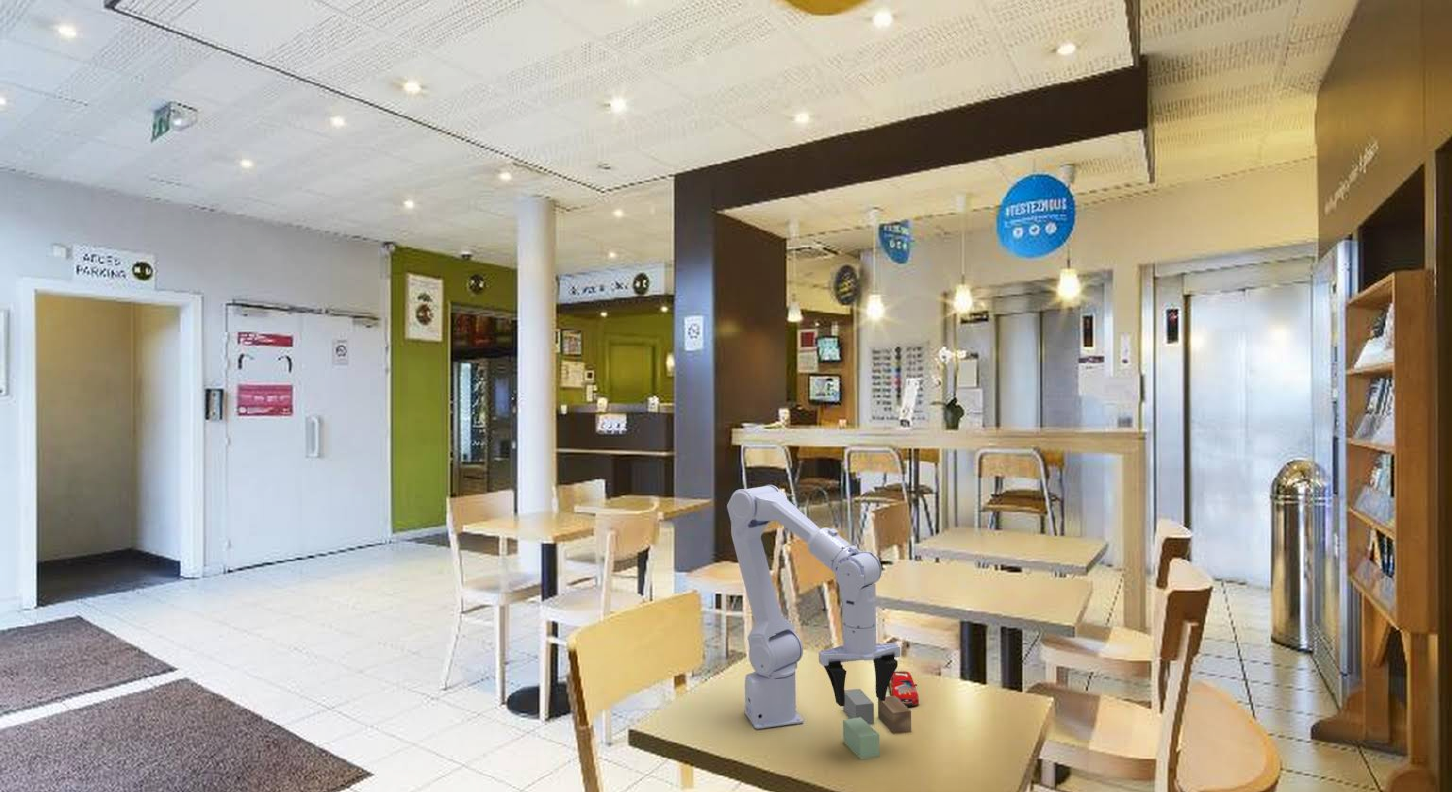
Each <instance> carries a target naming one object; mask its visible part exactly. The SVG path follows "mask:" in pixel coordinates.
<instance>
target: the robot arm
mask: <svg viewBox="0 0 1452 792" xmlns="http://www.w3.org/2000/svg"><path fill="white" fill-rule="evenodd" d="M726 508H727V512H728V516H729V519H730V526H731V527H730V528H731V529H730V534H731V539H732V543H733V546H734V551H735V554H736V558H737V562H738V566H739V570H740V574H741V577H742V581H743V584H744V585H743V586H744V588H745V592H746V595H747V599H748V603H749V606H750V610H751V614H752V618H753V622H754V624H753V626H752V628H751V630H750V631H749V634H748V636H747V640H748V642H747V643H748V647H749V649H748V650H749V651H748V659H749V663H750V665H751V667H752V669H753V671H754V672H751V673H747V674H746V675H745V677H744V678H745V679H744V711H743V712H744V713H745V715H746V717H747V719H748V720H749V721H750V723H751V724H752V726H753V727H754V729H755V730H756V729H757V730H758V729H765V728H766V729H767V728H775V727H781V726H788V725H789V726H790V725H796V724H797V725H798V724H803V723H804V719H803V718H802V717H801V715H800V713H798V712H797V711H796V710H797V701H796V700H797V698H796V695H797V694H796V692H797V690H796V688H797V687H796V684H797V683H796V670H797V669H798V662H799V661H801V659H802V658H803V654H804V646H803V642H802V639H800V637H799V636H798V634H797V632H796V631H795V627H794V623H793V622H791V621H790V620H788V619H787V618H786V617H784V616H783V614H782V611H781V608H780V604H779V599H778V596H777V592H776V589H775V586H774V581H773V579H772V574H771V571H770V570H771V569H770V568H769V563H768V559H767V555H766V552H765V548H764V545H763V544H764V543H763V541H762V535H763V533H764V531H765V529H766V528H767V527H768V526H769V524H771V522H777V523H779V524H780V525H782V526H783V527H784V528H786V529H787V530H788V531H790V532H791V533H793V534H794V535H796V536H797V537H799V538H800V539H801V540H802V541H805V543H807V547H808V552H809V554H811V555H812V556H813V557H814V558H816V559H817V560H818V561H819V562H821V563H822V564H823V565H824V566H825V567H826V568H827V569H829V570H830V571H831V572H833V573H834V577H835V580H836V583H837V584H838V586H839V587H840V595H841V597H842V598H841V600H842V601H841V602H842V603H841V604H842V645H840V646H836V647H833V648H829V649H826V650H825V649H824V650H819V651H818V663H819V664H820V665H822V666H823V668H824V669H825V671H826V674H827V675H828V679H829V680H830V683H831V686H832V689H833V694H834V698H835V703H836V704H837V705H838V706H839V707H843V706H844V703H845V695H844V690H845V684H846V676H847V670H846V669H844V668H843V664H842V663H846V662H855V661H865V662H866V661H873V667H874V675H875V677H874V678H875V696H876V698H877V700H878V699H880V700H881V701H885V697H887V692H888V690H889V687H888V685H889V682H890V680H891V677H892V675H893V673H894V672H895V671H897V668H898V664H899V663H898V662H899V661H898V660H897V658H901V646H900V645H899V644H897V643H896V642H890V643H889V642H888V643H886V642H885V643H883V642H882V643H881V642H879V643H878V642H877V608H876V607H877V606H876V602H877V600H876V594H877V593H876V583H878V581H879V580H880V578H881V577H882V571H883V569H882V566H881V565H882V564H881V562H880V560H879V558H878V557H877V556H876V555H874V553H873V552H872V551H870V550H862V551H861V550H860V549H859V548H858V547H857V546H856V545H855V544H854V545H853V544H851V543H850V542H848V540H845V538H843V537H842V536H840V535H839V531H838V530H837V529H836V528H833V527H832V528H829V527H822V528H820V527H819V526H817V525H816V524H815V523H814V521H812V520H811V519H810V518H809V517H807V516H806V515H805V514H804V513H803V512H802V511H801V510H800V509H798V508H797V507H796V506H795V505H794V504H793V503H792V502H791V501H790V500H789V499H788V496H787V494H786V493H785V492H784V491H782V490H780V489H779V488H778V487H777V486H775V485H773V484H766V485H764V486H757V487H752V488H751V487H750V488H746V489H743V488H742V489H737V490H735V491H734V492H733V493H732V495H731V496H730V499H729V500H728V503H727V505H726Z"/></svg>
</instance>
